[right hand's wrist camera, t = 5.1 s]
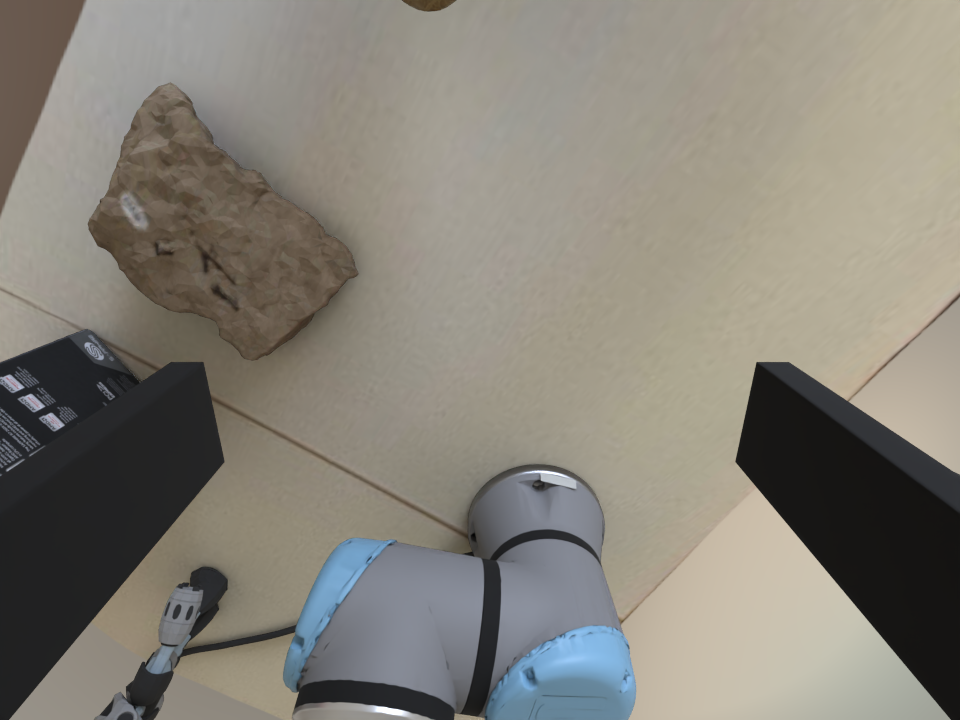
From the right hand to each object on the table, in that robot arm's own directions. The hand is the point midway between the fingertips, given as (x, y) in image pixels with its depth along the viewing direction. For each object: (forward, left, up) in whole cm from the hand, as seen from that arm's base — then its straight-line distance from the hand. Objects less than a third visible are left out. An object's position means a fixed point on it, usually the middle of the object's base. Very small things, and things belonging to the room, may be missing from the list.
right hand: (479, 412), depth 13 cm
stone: (-16, +16, -38) cm, 44 cm away
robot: (-54, -6, -38) cm, 66 cm away
